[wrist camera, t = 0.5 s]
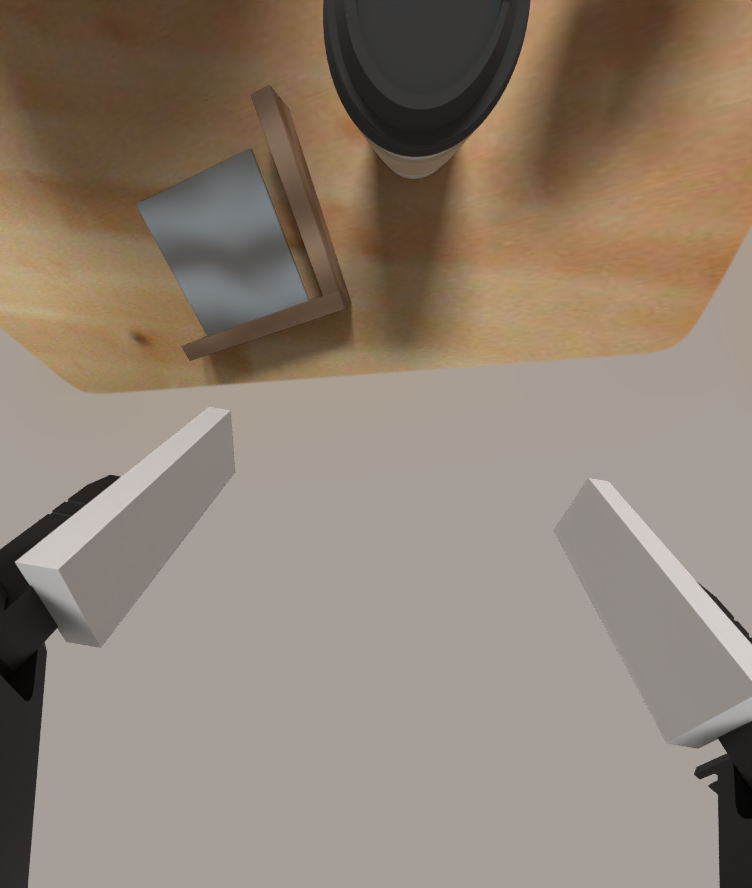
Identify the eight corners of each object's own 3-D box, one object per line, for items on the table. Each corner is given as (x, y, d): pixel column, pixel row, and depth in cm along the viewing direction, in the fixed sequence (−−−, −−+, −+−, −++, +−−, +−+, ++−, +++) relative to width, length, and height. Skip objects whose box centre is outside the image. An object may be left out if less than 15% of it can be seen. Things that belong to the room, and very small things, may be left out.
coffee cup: (386, 217, 28) (370, 185, 15) (338, 85, 24) (261, -106, 11) (489, 157, 26) (574, 60, 13) (453, 0, 22) (523, -368, 9)
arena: (122, 191, 29) (84, 183, 25) (288, 107, 25) (269, 84, 22) (210, 350, 36) (189, 360, 32) (351, 303, 32) (344, 308, 29)
